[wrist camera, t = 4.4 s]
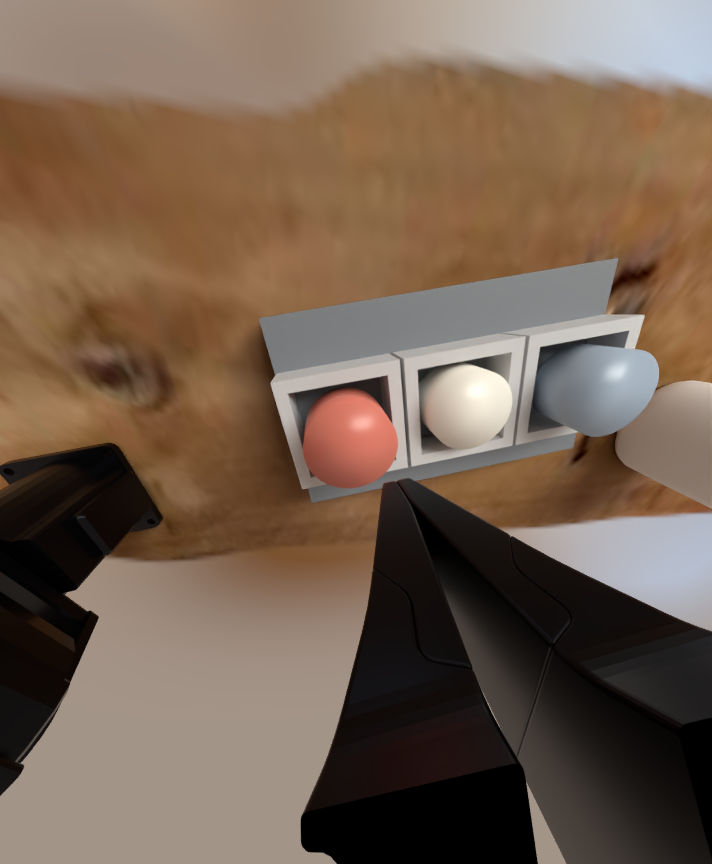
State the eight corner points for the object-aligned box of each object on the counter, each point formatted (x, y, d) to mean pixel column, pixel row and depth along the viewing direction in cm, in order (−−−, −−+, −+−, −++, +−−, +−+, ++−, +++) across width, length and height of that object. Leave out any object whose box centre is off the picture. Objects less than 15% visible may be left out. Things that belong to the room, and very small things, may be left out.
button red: (315, 466, 14) (314, 496, 12) (296, 395, 12) (291, 414, 10) (387, 452, 14) (401, 478, 12) (379, 380, 12) (393, 394, 10)
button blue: (526, 423, 15) (564, 444, 12) (537, 350, 13) (583, 358, 11) (592, 410, 15) (641, 427, 13) (611, 337, 13) (672, 341, 11)
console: (312, 480, 19) (311, 525, 15) (267, 317, 14) (248, 319, 10) (544, 432, 20) (601, 463, 16) (573, 266, 15) (666, 249, 11)
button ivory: (415, 435, 15) (433, 456, 13) (412, 367, 14) (430, 378, 11) (480, 422, 16) (507, 440, 13) (484, 354, 14) (517, 362, 12)
